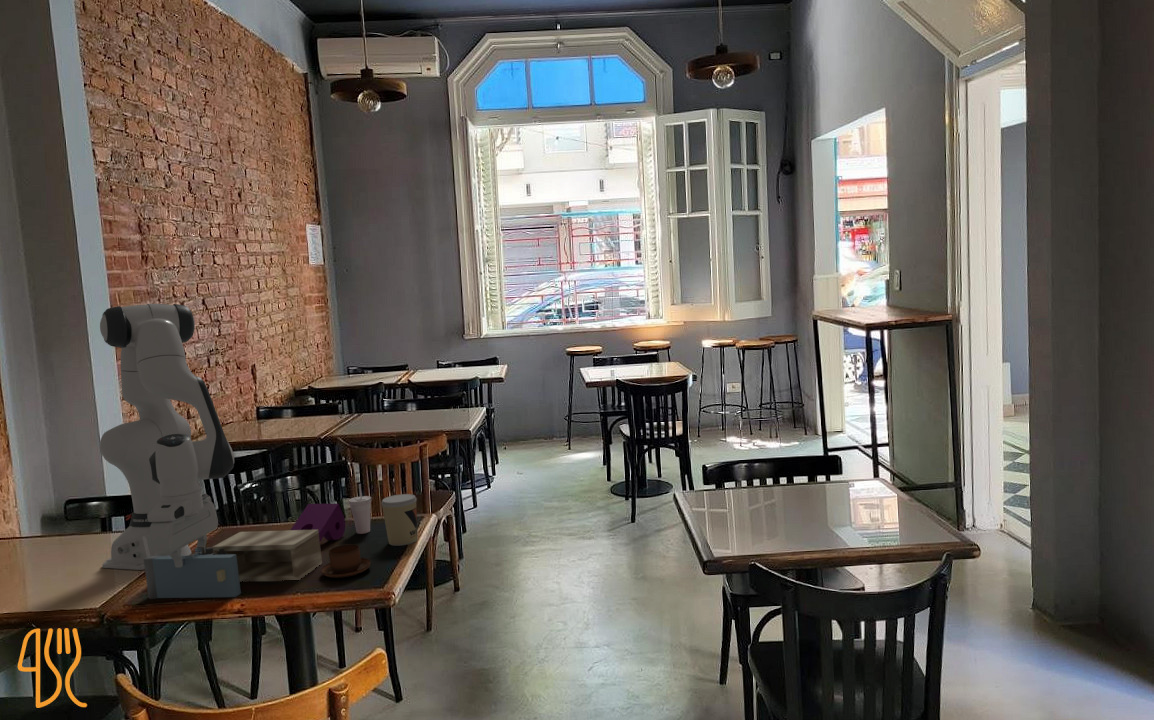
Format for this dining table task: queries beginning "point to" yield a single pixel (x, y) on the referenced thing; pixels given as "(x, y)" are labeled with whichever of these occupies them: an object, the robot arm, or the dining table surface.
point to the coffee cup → (400, 519)
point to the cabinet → (272, 554)
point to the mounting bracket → (322, 520)
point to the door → (192, 577)
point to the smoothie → (361, 512)
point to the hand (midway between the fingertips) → (190, 560)
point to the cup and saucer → (345, 562)
